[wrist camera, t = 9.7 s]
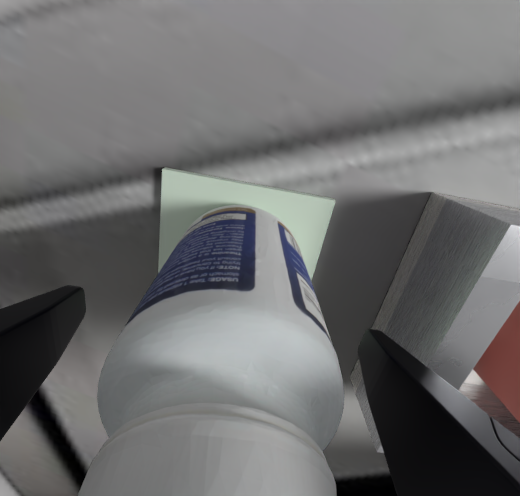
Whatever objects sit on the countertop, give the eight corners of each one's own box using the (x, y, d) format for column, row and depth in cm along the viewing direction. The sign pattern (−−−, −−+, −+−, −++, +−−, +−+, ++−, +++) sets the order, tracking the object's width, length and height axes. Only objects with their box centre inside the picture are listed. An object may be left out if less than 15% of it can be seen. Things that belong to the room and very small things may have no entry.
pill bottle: (165, 288, 13) (-26, 642, 4) (200, 181, 11) (-29, 432, 2) (271, 323, 14) (296, 673, 5) (321, 230, 12) (508, 548, 3)
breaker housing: (521, 399, 17) (592, 475, 13) (349, 377, 16) (376, 452, 13) (659, 235, 13) (821, 282, 9) (432, 191, 12) (511, 224, 8)
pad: (294, 327, 15) (295, 333, 14) (159, 308, 14) (156, 313, 14) (333, 198, 12) (335, 200, 11) (165, 167, 11) (162, 169, 11)
